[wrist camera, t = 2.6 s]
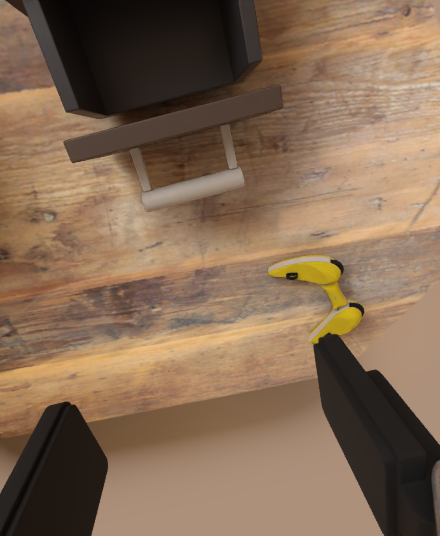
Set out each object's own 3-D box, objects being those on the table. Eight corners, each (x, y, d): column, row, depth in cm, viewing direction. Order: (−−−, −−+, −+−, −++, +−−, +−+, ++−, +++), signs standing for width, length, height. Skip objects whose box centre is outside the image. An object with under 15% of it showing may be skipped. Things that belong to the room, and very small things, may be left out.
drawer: (267, 171, 26) (294, 182, 19) (123, 208, 26) (100, 232, 19) (212, -149, 18) (226, -314, 12) (11, -94, 18) (-90, -227, 12)
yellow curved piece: (368, 311, 32) (374, 335, 29) (310, 326, 35) (310, 349, 32) (331, 233, 28) (333, 253, 25) (269, 258, 31) (265, 277, 28)
